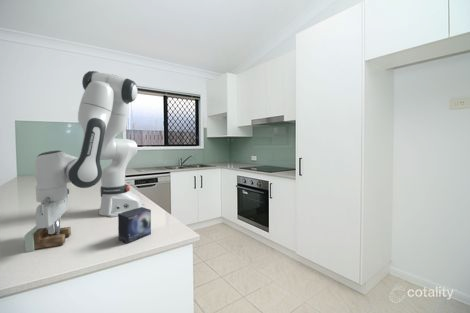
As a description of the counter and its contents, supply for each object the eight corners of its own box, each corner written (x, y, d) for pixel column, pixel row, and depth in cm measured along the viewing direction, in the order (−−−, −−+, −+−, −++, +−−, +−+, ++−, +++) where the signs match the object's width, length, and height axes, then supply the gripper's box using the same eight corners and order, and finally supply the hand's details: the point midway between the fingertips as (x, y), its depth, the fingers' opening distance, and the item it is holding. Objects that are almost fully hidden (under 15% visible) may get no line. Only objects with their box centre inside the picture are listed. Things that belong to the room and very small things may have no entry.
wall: (47, 236, 86) (46, 222, 86) (33, 251, 75) (32, 234, 75) (40, 237, 86) (39, 222, 85) (25, 252, 75) (24, 235, 74)
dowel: (61, 238, 85) (60, 218, 84) (59, 241, 82) (58, 220, 81) (52, 239, 83) (50, 219, 83) (49, 243, 81) (47, 221, 80)
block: (70, 233, 89) (70, 220, 88) (62, 244, 80) (62, 230, 79) (45, 237, 86) (45, 223, 85) (34, 249, 76) (33, 233, 76)
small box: (127, 244, 81) (126, 216, 80) (117, 240, 84) (116, 213, 84) (152, 234, 90) (151, 209, 89) (142, 230, 93) (141, 206, 93)
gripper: (52, 201, 73) (54, 241, 74) (70, 188, 92) (72, 220, 93) (27, 203, 71) (30, 244, 72) (51, 189, 89) (53, 222, 90)
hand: (54, 231), depth 82 cm, fingers closed on dowel, 3 cm apart
